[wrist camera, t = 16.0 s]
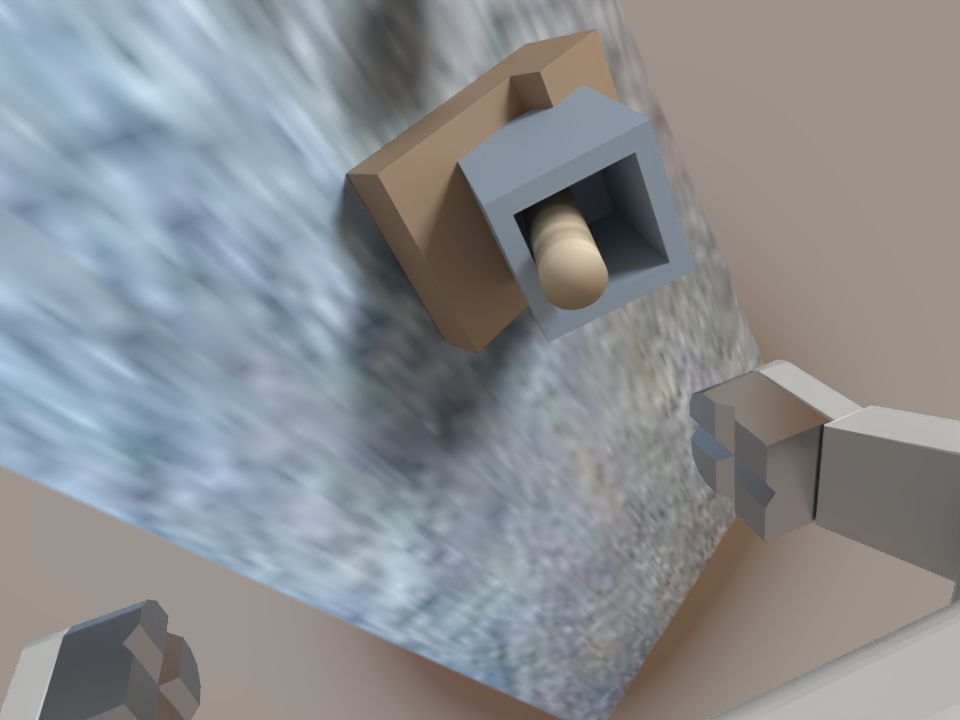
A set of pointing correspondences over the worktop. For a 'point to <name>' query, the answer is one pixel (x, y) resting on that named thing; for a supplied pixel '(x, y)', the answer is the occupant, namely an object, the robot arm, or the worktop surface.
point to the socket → (524, 192)
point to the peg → (565, 252)
